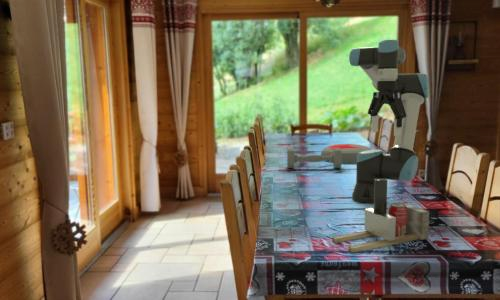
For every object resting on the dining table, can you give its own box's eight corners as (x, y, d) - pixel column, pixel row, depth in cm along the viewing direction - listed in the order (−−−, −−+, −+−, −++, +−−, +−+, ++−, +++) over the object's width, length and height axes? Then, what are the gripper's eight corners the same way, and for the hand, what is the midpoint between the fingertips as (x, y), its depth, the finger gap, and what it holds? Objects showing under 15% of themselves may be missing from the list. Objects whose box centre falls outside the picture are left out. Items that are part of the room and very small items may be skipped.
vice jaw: (362, 230, 170) (364, 177, 167) (372, 228, 172) (374, 175, 168) (386, 241, 158) (388, 184, 155) (396, 239, 160) (398, 183, 156)
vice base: (330, 240, 165) (330, 213, 164) (400, 227, 178) (401, 202, 176) (353, 253, 153) (354, 224, 151) (428, 238, 165) (429, 211, 163)
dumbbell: (287, 168, 297) (287, 148, 298) (339, 168, 295) (339, 148, 295) (287, 168, 284) (287, 147, 285) (341, 168, 282) (341, 147, 282)
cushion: (371, 165, 298) (372, 149, 296) (315, 162, 311) (315, 147, 310) (377, 155, 332) (377, 141, 330) (326, 153, 345) (326, 140, 344)
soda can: (396, 240, 164) (397, 207, 162) (384, 234, 170) (385, 203, 168) (409, 237, 167) (411, 205, 165) (397, 232, 172) (398, 201, 170)
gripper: (359, 80, 191) (358, 131, 194) (401, 80, 168) (399, 138, 172) (374, 79, 194) (373, 129, 197) (417, 80, 171) (415, 136, 175)
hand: (385, 133), depth 185 cm, fingers open, 13 cm apart
